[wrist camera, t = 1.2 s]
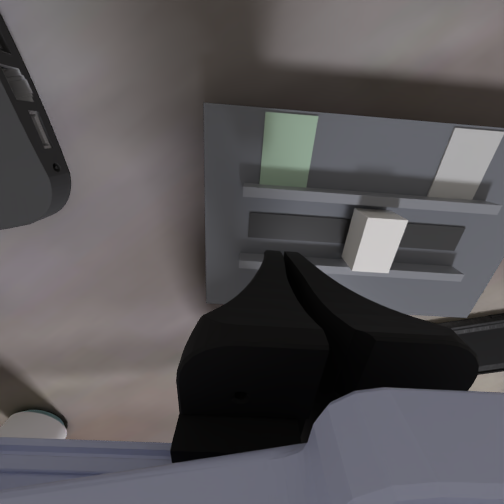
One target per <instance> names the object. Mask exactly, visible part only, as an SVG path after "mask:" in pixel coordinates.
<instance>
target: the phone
mask: <svg viewBox="0 0 504 504" xmlns="http://www.w3.org/2000/svg"><path fill="white" fill-rule="evenodd" d="M438 325H441V326H445V327H448V328H451V329H452V330H453V331H454V332H455V333H456V334H457V335H458V336H459V337H460V338H461V339H462V340H463V341H464V342H465V343H466V344H467V345H468V346H469V347H470V348H471V349H472V350H473V351H474V352H475V353H476V354H477V357H478V360H479V362H480V363H479V371H478V375H479V374H486V373H494V372H501V371H504V314H498V315H491V316H485V317H478V318H472V319H465V320H459V321H452V322H446V323H439V324H438Z"/></svg>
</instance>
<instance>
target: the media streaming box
mask: <svg viewBox="0 0 504 504" xmlns="http://www.w3.org/2000/svg"><path fill="white" fill-rule="evenodd" d="M70 189H71V180H70V174H69V171H68V168H67V165H66V163H65V160H64V157H63V155H62V152H61V150H60V147H59V145H58V142H57V140H56V137H55V135H54V132H53V130H52V127H51V125H50V123H49V120H48V118H47V115H46V113H45V111H44V108H43V106H42V104H41V101H40V99H39V97H38V95H37V92H36V90H35V88H34V86H33V83H32V81H31V79H30V77H29V75H28V72H27V70H26V68H25V66H24V64H23V61H22V59H21V57H20V55H19V53H18V51H17V49H16V47H15V44H14V42H13V40H12V38H11V36H10V34H9V32H8V30H7V28H6V26H5V24H4V22H3V20H2V18H1V16H0V230H2V229H8V228H13V227H18V226H23V225H28V224H31V223H34V222H36V221H38V220H41V219H43V218H46V217H48V216H50V215H53V214H55V213H57V212H58V211H59V210H61V209H62V208H63V207H64V205H65V204H66V202H67V200H68V198H69V195H70Z"/></svg>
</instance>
